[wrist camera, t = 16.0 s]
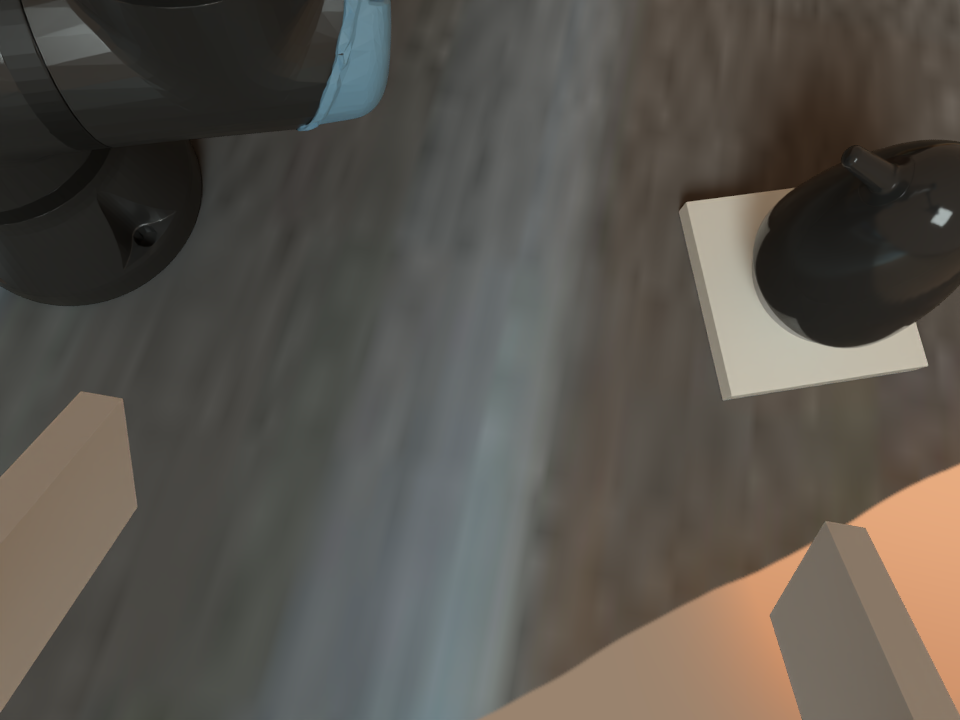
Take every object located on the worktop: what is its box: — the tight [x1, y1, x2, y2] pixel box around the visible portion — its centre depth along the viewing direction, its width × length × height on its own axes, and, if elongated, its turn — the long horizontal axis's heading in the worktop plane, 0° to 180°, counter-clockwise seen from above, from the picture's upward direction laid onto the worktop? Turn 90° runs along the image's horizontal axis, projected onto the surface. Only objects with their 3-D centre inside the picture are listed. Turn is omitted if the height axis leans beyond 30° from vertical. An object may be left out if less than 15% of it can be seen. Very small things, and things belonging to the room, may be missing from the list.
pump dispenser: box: [752, 140, 960, 348], centre depth 39 cm, size 10×10×15 cm
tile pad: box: [679, 188, 928, 400], centre depth 48 cm, size 13×13×2 cm
